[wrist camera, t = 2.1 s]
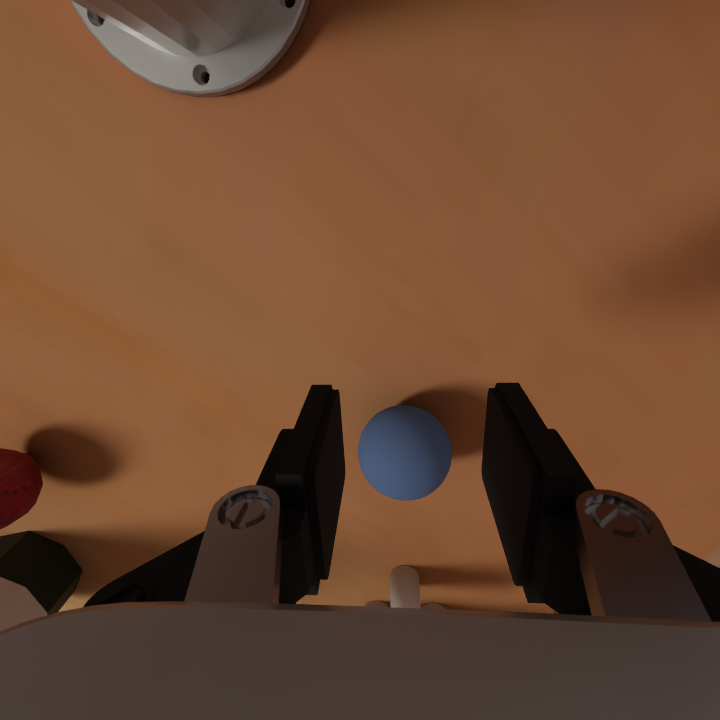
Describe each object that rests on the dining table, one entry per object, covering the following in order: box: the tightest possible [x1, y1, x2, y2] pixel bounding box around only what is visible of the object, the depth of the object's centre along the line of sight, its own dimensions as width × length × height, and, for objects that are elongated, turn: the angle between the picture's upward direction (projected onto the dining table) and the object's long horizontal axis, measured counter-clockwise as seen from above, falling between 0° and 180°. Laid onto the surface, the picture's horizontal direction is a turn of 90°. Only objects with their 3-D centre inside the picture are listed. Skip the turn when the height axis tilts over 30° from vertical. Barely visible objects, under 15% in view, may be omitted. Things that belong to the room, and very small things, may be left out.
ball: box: [358, 405, 452, 500], centre depth 26 cm, size 6×6×6 cm
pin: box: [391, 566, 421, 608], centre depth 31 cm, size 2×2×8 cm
